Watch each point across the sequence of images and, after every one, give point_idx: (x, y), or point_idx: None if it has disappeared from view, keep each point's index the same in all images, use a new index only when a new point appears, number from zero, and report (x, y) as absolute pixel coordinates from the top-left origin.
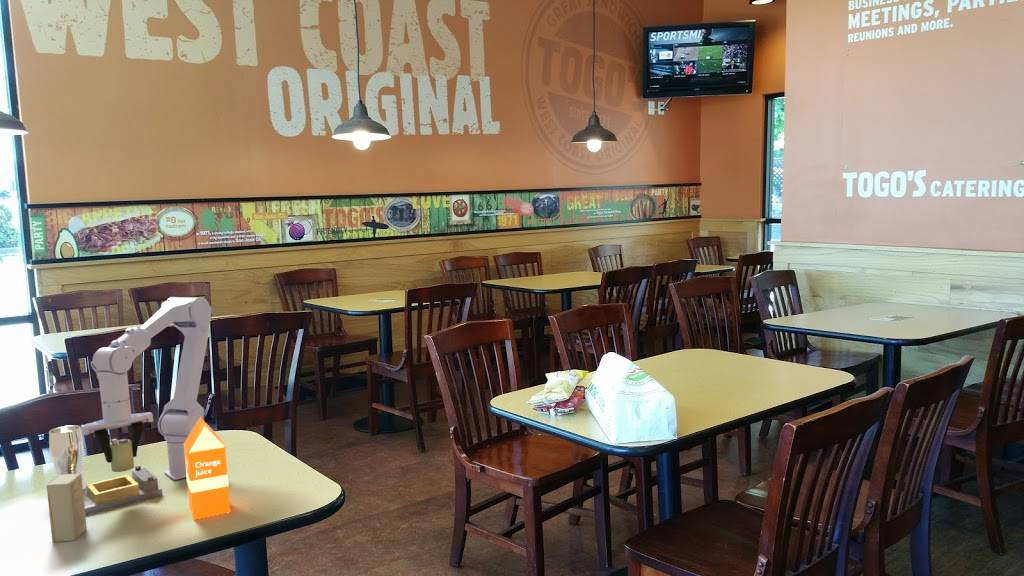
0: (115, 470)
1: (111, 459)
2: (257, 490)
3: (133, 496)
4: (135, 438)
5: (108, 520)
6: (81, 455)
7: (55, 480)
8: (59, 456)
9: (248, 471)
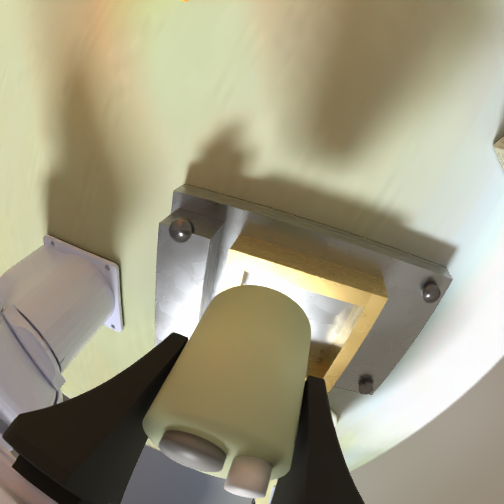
0: (307, 326)
1: (310, 385)
2: (42, 11)
3: (273, 218)
4: (110, 411)
5: (423, 138)
6: (274, 479)
7: None
8: None
9: (8, 159)
